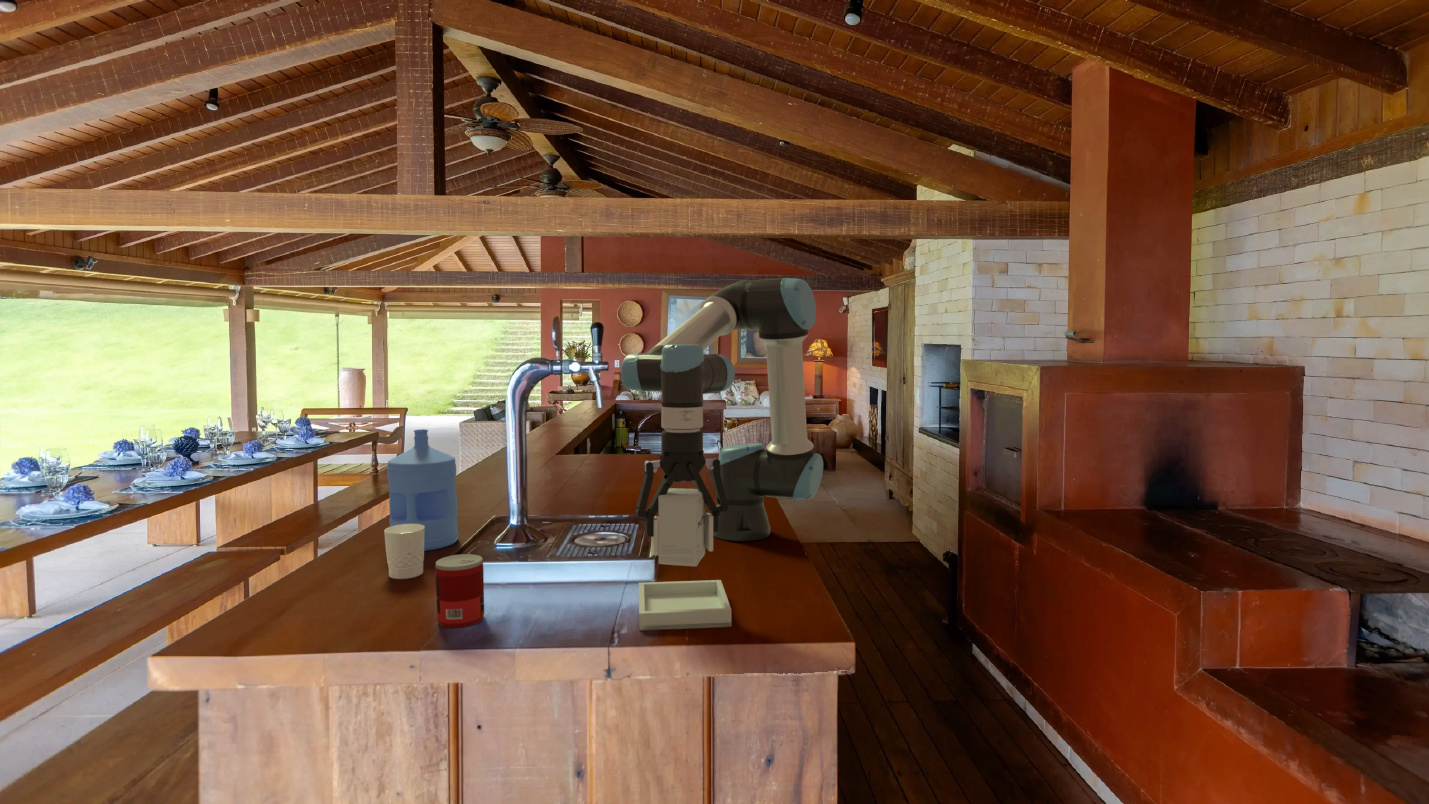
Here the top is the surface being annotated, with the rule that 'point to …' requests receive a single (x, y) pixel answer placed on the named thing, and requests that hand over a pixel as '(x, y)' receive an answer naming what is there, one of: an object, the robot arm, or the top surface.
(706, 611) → the sage tray
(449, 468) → the water jug
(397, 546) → the white cup
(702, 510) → the supplement box
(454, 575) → the canned food
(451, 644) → the top surface
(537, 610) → the top surface
